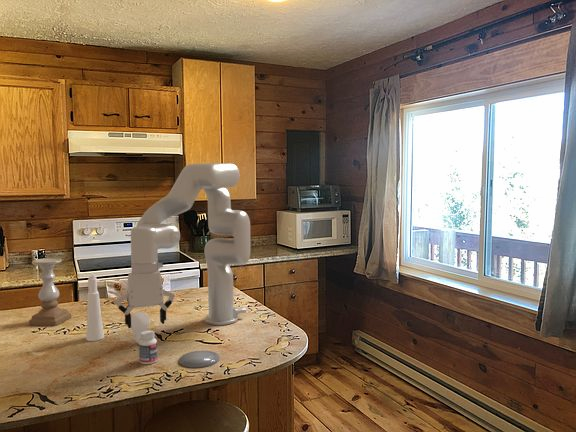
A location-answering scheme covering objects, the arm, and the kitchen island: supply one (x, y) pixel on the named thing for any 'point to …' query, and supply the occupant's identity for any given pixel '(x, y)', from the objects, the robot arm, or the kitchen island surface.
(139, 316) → the light bulb
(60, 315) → the candle holder
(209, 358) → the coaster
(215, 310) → the robot arm
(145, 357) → the pill bottle
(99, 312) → the cosmetic bottle
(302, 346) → the kitchen island surface
